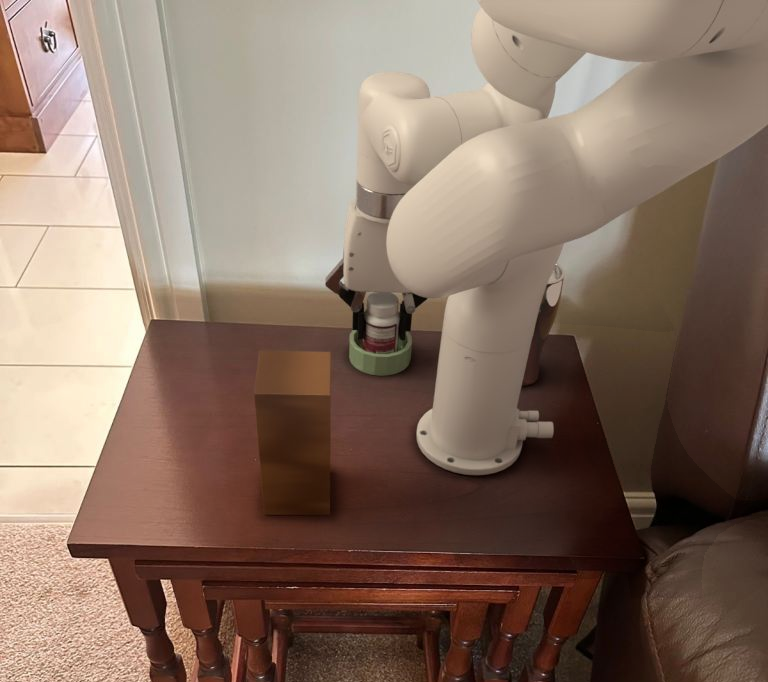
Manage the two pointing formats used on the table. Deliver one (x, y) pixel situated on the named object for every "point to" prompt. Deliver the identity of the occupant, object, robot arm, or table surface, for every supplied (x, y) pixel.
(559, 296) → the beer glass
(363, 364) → the bowl
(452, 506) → the table surface
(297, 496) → the pedestal
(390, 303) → the pill bottle
